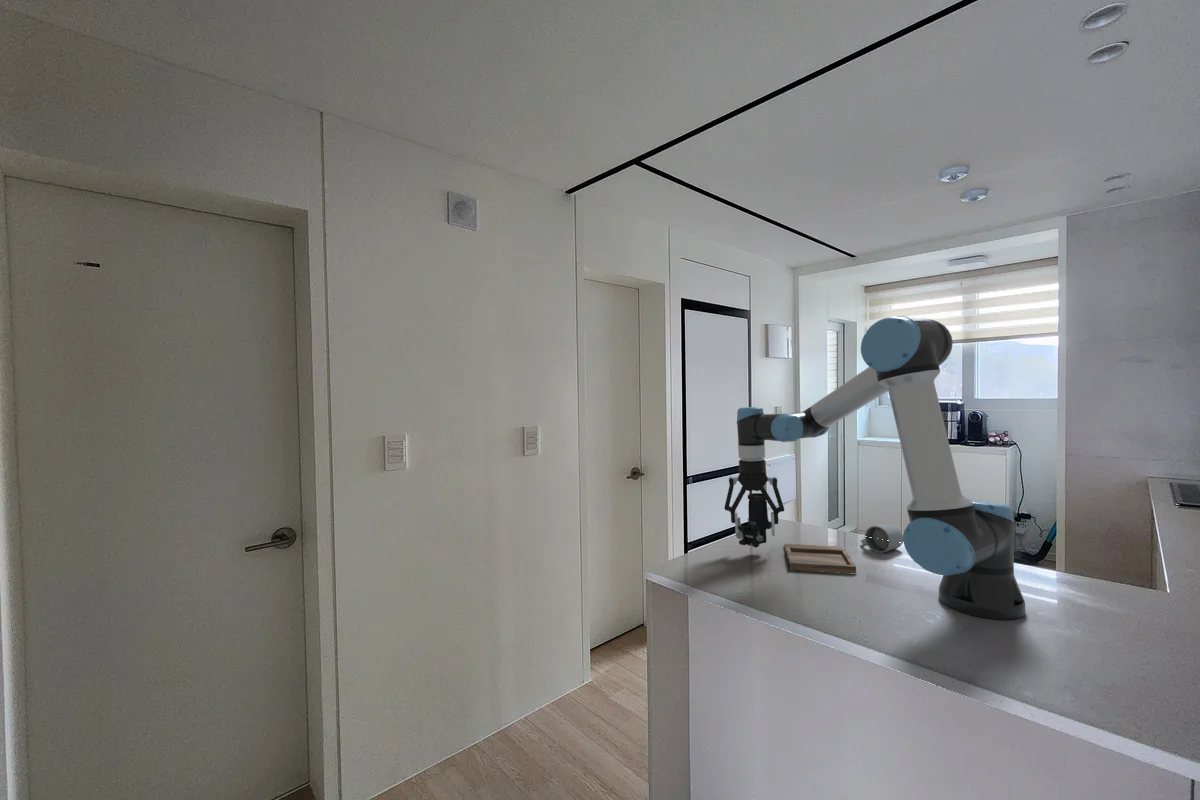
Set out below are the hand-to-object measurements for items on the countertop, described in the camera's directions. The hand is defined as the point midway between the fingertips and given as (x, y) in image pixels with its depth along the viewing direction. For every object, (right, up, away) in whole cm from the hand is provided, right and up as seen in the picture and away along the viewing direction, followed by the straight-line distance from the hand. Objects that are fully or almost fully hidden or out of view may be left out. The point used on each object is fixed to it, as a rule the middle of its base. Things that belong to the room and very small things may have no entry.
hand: (754, 534), depth 147 cm
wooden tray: (+16, -5, -6) cm, 18 cm away
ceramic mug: (+38, -5, +1) cm, 38 cm away
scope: (+1, -2, 0) cm, 3 cm away
